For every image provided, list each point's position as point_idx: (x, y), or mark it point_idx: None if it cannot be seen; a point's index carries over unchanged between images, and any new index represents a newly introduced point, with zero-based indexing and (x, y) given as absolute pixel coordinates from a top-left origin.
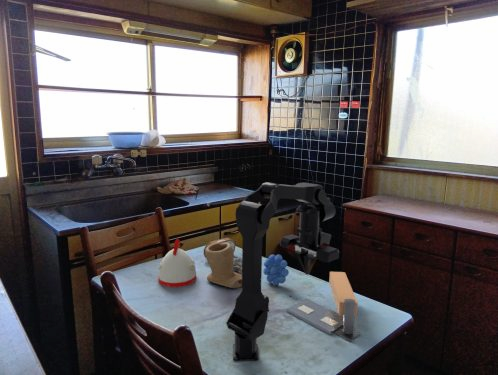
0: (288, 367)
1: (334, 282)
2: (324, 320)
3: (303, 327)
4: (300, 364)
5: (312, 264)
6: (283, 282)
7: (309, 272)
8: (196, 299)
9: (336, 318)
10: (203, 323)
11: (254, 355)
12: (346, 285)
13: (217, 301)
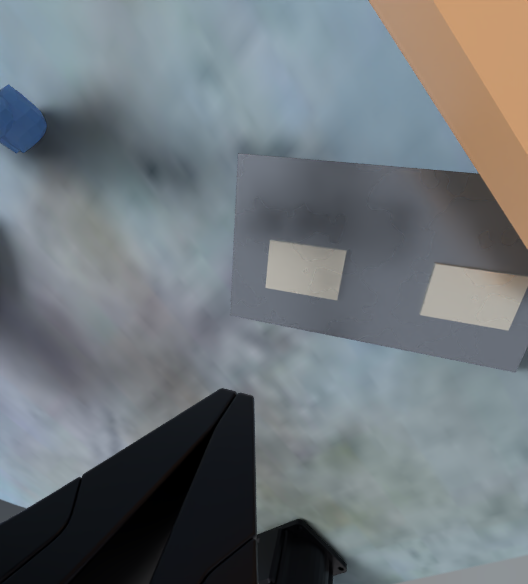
0: (441, 563)
1: (479, 36)
2: (444, 306)
3: (365, 371)
4: (470, 544)
5: (255, 579)
6: (45, 128)
7: (254, 421)
8: (9, 409)
9: (499, 238)
10: None
11: (330, 564)
12: None
13: (44, 388)
